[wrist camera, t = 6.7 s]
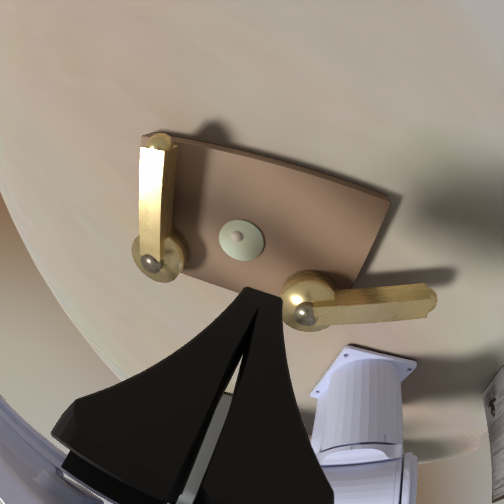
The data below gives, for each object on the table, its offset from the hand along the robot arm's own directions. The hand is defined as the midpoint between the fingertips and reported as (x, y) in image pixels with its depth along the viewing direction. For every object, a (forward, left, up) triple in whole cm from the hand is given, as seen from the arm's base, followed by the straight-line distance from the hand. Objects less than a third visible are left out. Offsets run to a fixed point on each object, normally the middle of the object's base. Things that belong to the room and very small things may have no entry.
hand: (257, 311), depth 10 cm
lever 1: (-2, +8, -8) cm, 12 cm away
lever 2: (-4, -6, -8) cm, 11 cm away
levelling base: (-2, +3, -10) cm, 10 cm away
